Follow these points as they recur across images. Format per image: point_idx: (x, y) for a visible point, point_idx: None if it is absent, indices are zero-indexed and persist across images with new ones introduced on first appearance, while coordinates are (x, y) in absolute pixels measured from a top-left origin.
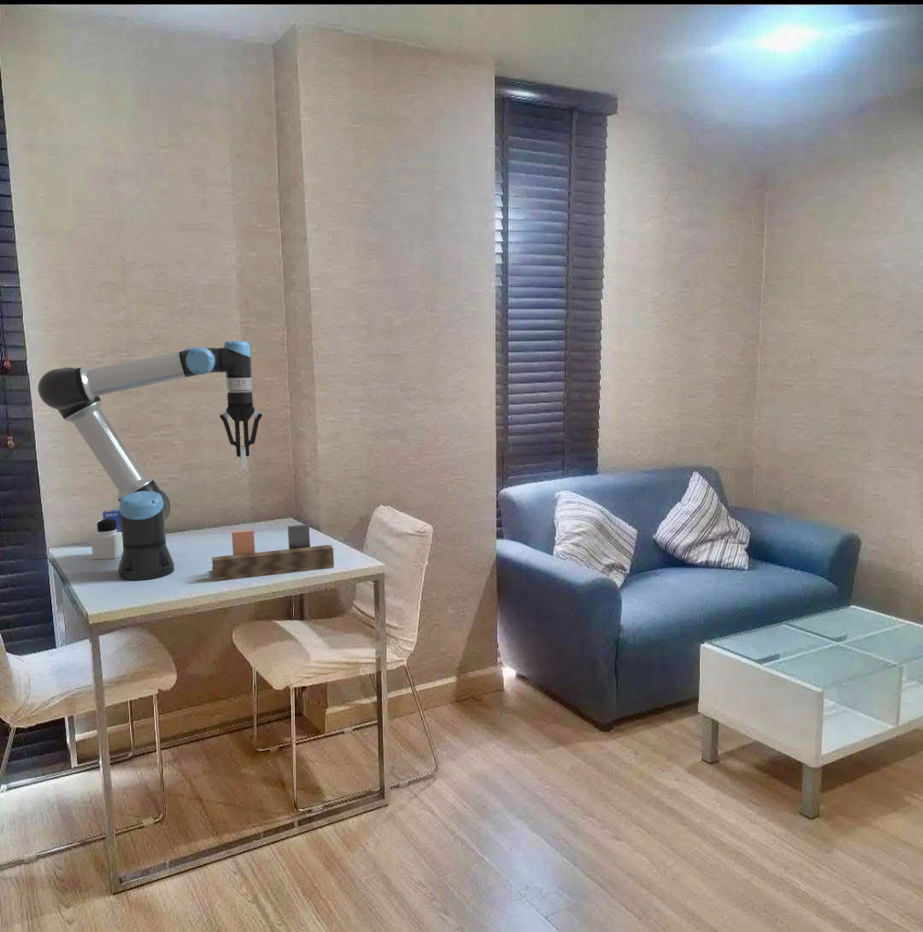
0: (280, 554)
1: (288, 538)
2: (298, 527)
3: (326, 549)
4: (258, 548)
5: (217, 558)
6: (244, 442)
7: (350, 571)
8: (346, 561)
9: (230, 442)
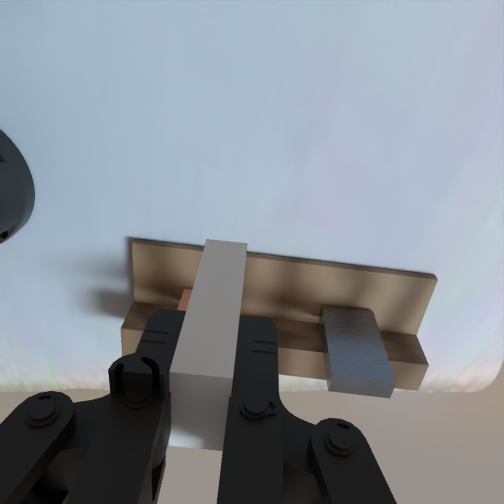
0: (284, 373)
1: (327, 353)
2: (357, 392)
3: (400, 387)
4: (304, 51)
5: (133, 343)
6: (227, 434)
7: (418, 389)
8: (456, 326)
9: (31, 488)
